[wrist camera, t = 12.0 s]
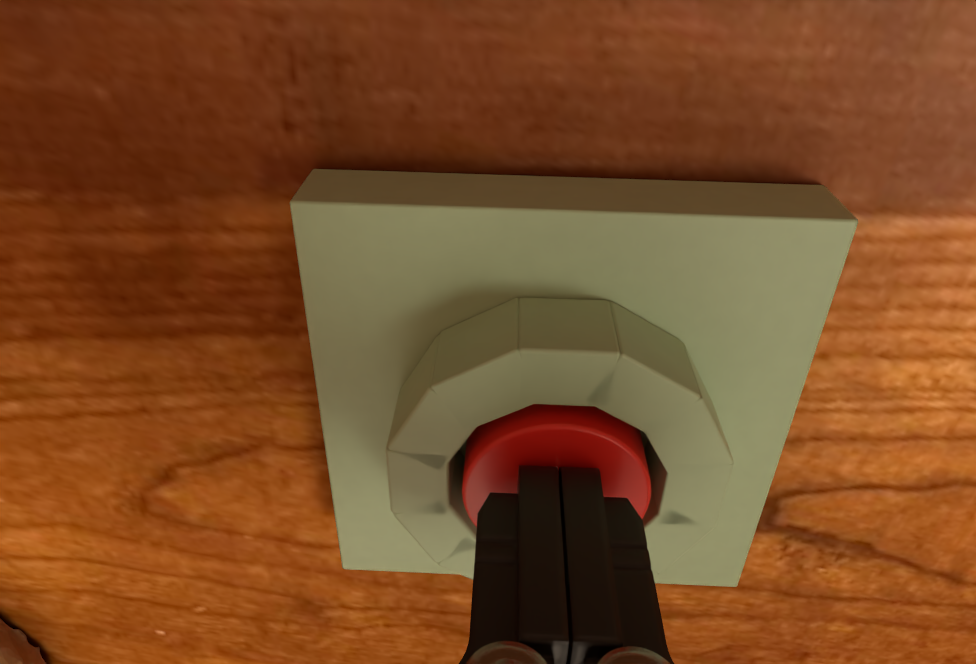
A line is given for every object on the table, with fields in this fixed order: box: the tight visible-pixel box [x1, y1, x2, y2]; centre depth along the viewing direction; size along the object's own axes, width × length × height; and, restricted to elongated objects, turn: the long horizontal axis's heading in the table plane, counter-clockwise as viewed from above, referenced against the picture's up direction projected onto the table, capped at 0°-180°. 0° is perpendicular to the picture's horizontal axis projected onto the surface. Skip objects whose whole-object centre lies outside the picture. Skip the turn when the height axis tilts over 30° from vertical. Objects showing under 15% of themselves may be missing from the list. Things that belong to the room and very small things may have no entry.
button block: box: [290, 169, 858, 587], centre depth 15 cm, size 10×10×4 cm
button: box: [462, 404, 651, 528], centre depth 14 cm, size 4×4×2 cm
